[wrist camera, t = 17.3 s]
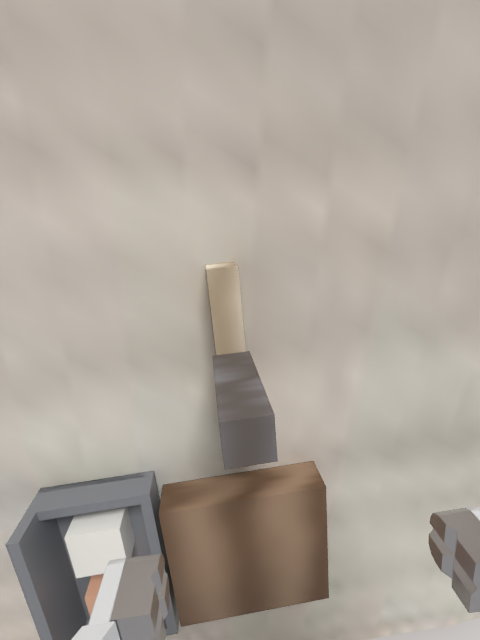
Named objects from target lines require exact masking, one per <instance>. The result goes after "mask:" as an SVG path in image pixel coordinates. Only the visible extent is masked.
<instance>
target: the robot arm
mask: <svg viewBox="0 0 480 640" xmlns="http://www.w3.org/2000/svg"><path fill="white" fill-rule="evenodd" d="M430 524H431V525H432V526H433V528H434V529H433V530H432V531H431V533H430V534H429V546H430V550H431V554H432V556H433V558H434V560H435V562H436V564H437V565H438V567H439V568H440V570H441V571H442V572H443V573H445V574H446V575H448V576H449V577H451V578H452V588H453V590H454V591H455V593H456V594H457V596H458V597H459V599H460V600H461V602H462V603H463V605H464V606H465V608H466V609H467V611H468V612H469V613H472V612H480V506H477V507H470V508H465V509H464V508H461V509H455V510H449V511H442V512H436V513H433V514H432V515H431V518H430ZM164 566H165V561H164V557H163V554H156V555H148V556H139V557H131V558H123V559H116V560H110V561H109V563H108V564H107V566H106V568H105V572H104V575H103V578H102V581H101V584H100V588H99V591H98V594H97V597H96V601H95V604H94V607H93V610H92V613H91V617H90V620H89V623H88V625H85V626H82V627H81V628H80V630H79V631H78V632H77V633H76V634H75V636H74V637H73V638H72V639H71V640H165V637H166V631H165V626H164V622H163V621H164V619H165V618H166V616H167V615H168V610H169V579H168V574H167V573H166V572H164Z"/></svg>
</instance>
